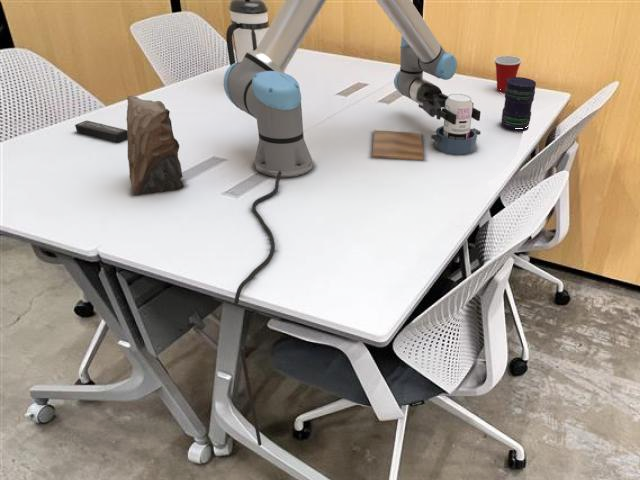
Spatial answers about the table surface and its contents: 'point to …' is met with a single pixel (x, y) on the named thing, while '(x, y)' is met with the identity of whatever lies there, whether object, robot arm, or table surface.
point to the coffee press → (246, 27)
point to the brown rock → (151, 148)
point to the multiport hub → (102, 131)
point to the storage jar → (518, 103)
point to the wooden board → (397, 145)
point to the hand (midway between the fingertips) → (467, 118)
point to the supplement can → (458, 116)
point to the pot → (455, 142)
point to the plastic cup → (506, 70)
